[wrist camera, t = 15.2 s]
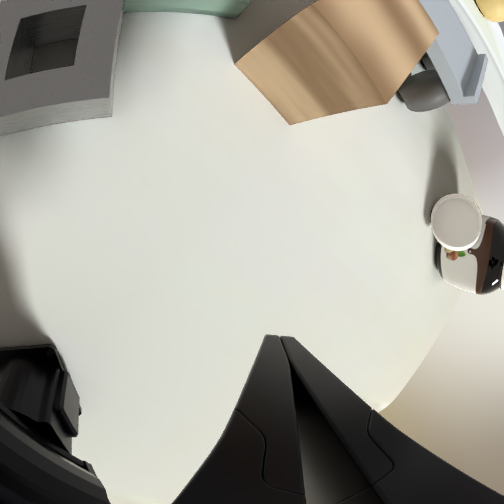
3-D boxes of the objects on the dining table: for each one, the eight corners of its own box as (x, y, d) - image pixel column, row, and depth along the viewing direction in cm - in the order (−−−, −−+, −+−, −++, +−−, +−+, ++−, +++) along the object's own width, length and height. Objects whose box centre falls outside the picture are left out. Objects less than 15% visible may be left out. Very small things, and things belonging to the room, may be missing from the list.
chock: (289, 125, 19) (387, 103, 11) (233, 64, 16) (312, 3, 9) (361, 55, 21) (439, 33, 13) (322, 7, 18) (395, -31, 10)
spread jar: (450, 276, 36) (512, 299, 26) (414, 286, 31) (493, 318, 21) (461, 198, 33) (528, 210, 23) (428, 187, 28) (515, 201, 18)
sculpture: (489, 22, 38) (516, 20, 28) (484, 24, 36) (514, 21, 26) (473, -9, 33) (499, -13, 23) (466, -11, 31) (495, -16, 21)
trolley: (400, 116, 24) (474, 111, 16) (333, 18, 18) (406, -15, 11) (435, 62, 26) (488, 55, 18) (387, -12, 20) (440, -30, 12)
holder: (-4, 136, 11) (-31, 126, 7) (16, 29, 9) (1, 2, 5) (111, 116, 14) (109, 97, 11) (123, 11, 12) (128, -22, 9)
